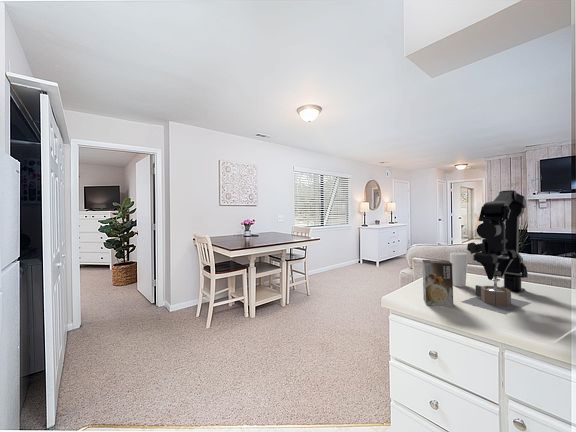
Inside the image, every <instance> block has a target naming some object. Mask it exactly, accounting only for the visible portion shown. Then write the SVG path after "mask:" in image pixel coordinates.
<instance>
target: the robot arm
mask: <svg viewBox="0 0 576 432" xmlns="http://www.w3.org/2000/svg"><path fill="white" fill-rule="evenodd" d="M526 207H527V200H526V198H525V196H524V195H522V194H520V193H517V191H516V190H513V189H509V190H500V191H499V192H498V195H497V196H496V197H495V198H494V200H493V201H492V200H491V201H487V202H485V203H484V204H483V205H482V206H481V208H480V213H479V217H478V222H482V223H480V224H479V225H478V226H477V228H476V234H477V235H478V236H479V237H480V238H482V240H481V243H475V242H468V243H467V246H466V247H467V248H466V250H467V251H468V252H469V253H470V255H472V256H473V261H474V262H475V261H476V262H477V263H479V264H480V265H481V266H482V267H483V269H484V271H485V274H486V277H487V279H488V280H489V281H493V280H492V279H493V278H494V275H495V272H496V270H498V271H501V276H498V277H499V278H502V277H503V286H501V287H502V288H507V289H508V290H510V291H511V292H514V293H515V292H516V293H521V292H523V291H525V290H526V289H525V288H523V287H522V278H523V279H524V278H525V279H526V278H528V269H527V266H526V263H524V258H523V257H522V255H521V254H520V253H519V242H520V241H519V234H520V233H519V232H520V231H519V230H520V218H521V217H522V216H523V214H524V213H525V209H527V208H526Z"/></svg>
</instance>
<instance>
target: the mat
mask: <svg viewBox="0 0 576 432" xmlns="http://www.w3.org/2000/svg"><path fill="white" fill-rule="evenodd" d="M460 302H461V303H463V304H467V305H470V306H472V307H473V306H474V307H477V308H482V309H484V310H485V309H486V310H488V311H492V312H496V313H499V314H503V315H508V314H509V313H510V314H511V313H512V312H515V311H517V310H518V309H521V308H523V307H525V306H528V305H530V304H531V302H528V301H525V300H521V299H516V298H512V297H511V305H510V306H506V307H505V306H494V305H490V304H487V303H484V302H483V301H482V300H481V297H479V296H476V295H475V296H474V297H472V298H468V299H465V300H462V301H460Z"/></svg>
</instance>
